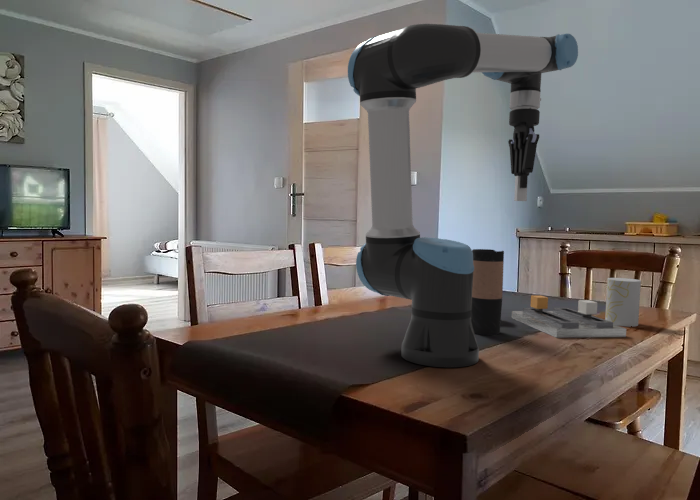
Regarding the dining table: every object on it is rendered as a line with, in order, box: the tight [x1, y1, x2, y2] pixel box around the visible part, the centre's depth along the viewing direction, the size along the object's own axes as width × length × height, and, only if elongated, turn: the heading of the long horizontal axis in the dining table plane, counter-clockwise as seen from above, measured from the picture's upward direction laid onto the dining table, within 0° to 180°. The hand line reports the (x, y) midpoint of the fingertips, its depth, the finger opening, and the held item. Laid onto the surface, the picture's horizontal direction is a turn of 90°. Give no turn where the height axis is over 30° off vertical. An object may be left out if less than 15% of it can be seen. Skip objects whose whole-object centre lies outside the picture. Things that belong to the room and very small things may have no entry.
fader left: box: [529, 295, 549, 313], centre depth 150 cm, size 3×4×5 cm
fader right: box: [577, 299, 598, 319], centre depth 143 cm, size 3×4×5 cm
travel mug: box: [471, 248, 505, 336], centre depth 136 cm, size 8×8×20 cm
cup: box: [604, 277, 642, 327], centre depth 152 cm, size 8×8×12 cm
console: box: [511, 307, 627, 339], centre depth 145 cm, size 18×24×3 cm
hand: (520, 200), depth 147 cm, fingers closed
